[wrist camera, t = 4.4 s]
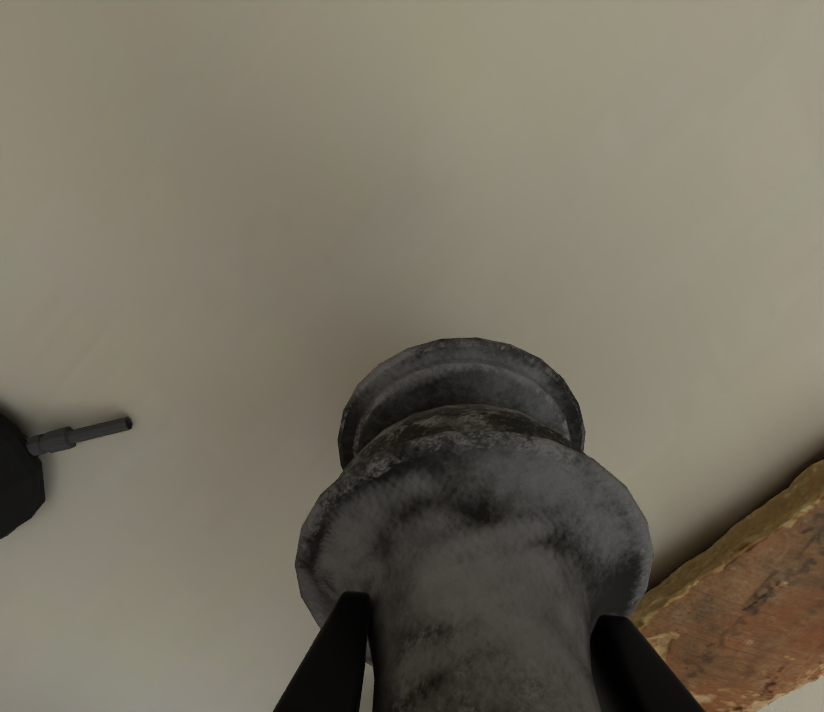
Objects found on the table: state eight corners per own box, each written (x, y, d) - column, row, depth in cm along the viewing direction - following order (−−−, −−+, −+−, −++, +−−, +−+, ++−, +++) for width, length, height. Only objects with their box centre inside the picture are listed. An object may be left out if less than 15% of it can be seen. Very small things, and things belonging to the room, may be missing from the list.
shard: (860, 414, 17) (902, 454, 16) (1001, 532, 20) (1051, 578, 18) (587, 612, 22) (599, 659, 20) (727, 691, 24) (748, 739, 22)
